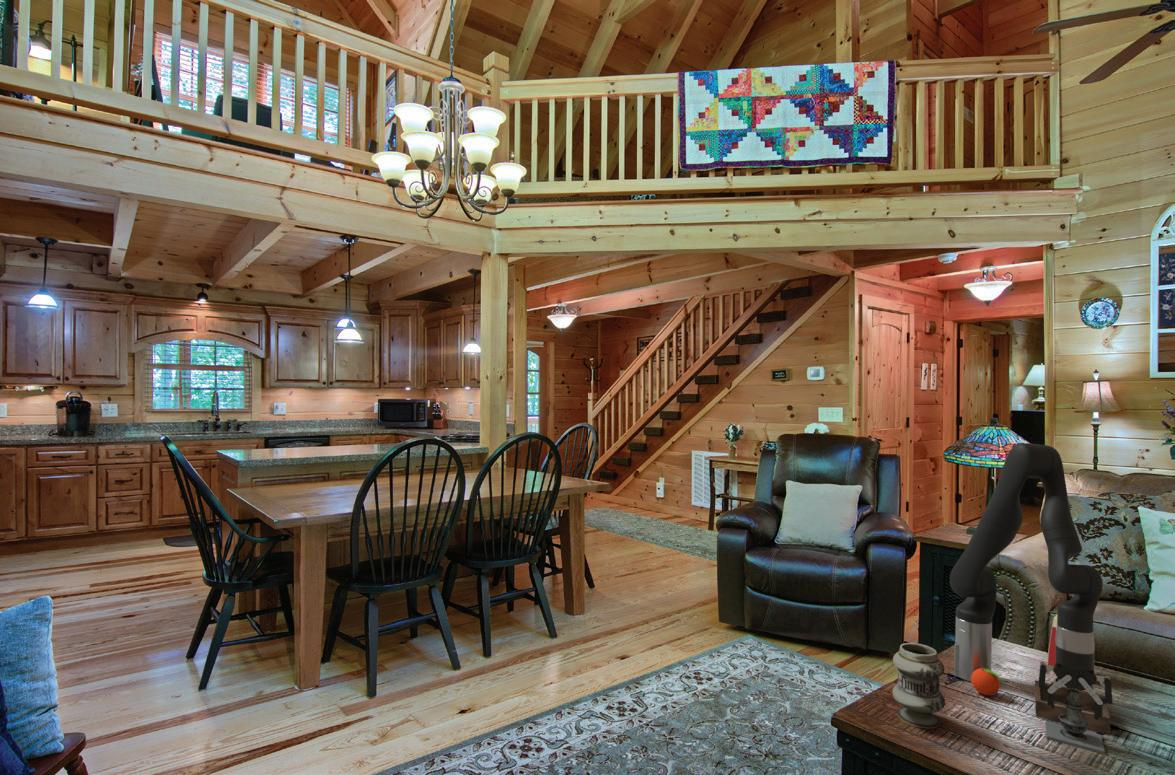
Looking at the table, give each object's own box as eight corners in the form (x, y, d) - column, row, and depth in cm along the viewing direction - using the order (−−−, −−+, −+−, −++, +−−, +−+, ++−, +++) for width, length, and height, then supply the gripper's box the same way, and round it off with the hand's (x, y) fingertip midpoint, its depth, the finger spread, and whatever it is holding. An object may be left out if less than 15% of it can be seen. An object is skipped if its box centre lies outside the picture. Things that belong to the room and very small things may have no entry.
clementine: (1009, 698, 174) (1009, 672, 174) (996, 703, 171) (996, 677, 171) (978, 686, 181) (979, 661, 181) (965, 691, 178) (966, 666, 178)
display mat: (1046, 738, 153) (1046, 736, 153) (1045, 723, 161) (1045, 721, 161) (1104, 754, 147) (1104, 751, 147) (1100, 737, 154) (1100, 734, 154)
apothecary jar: (901, 702, 170) (902, 636, 171) (951, 719, 162) (952, 649, 162) (884, 718, 162) (885, 647, 162) (936, 736, 153) (937, 662, 153)
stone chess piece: (1094, 743, 151) (1094, 693, 151) (1066, 740, 152) (1067, 690, 152) (1080, 730, 156) (1080, 682, 156) (1053, 727, 158) (1054, 679, 158)
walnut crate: (1035, 716, 164) (1035, 700, 164) (1034, 694, 177) (1034, 680, 177) (1110, 734, 156) (1110, 718, 156) (1103, 710, 168) (1103, 695, 168)
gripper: (1039, 644, 155) (1038, 710, 155) (1114, 658, 147) (1113, 728, 147) (1038, 635, 161) (1038, 698, 161) (1110, 648, 153) (1109, 715, 153)
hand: (1074, 712), depth 154 cm, fingers open, 8 cm apart
